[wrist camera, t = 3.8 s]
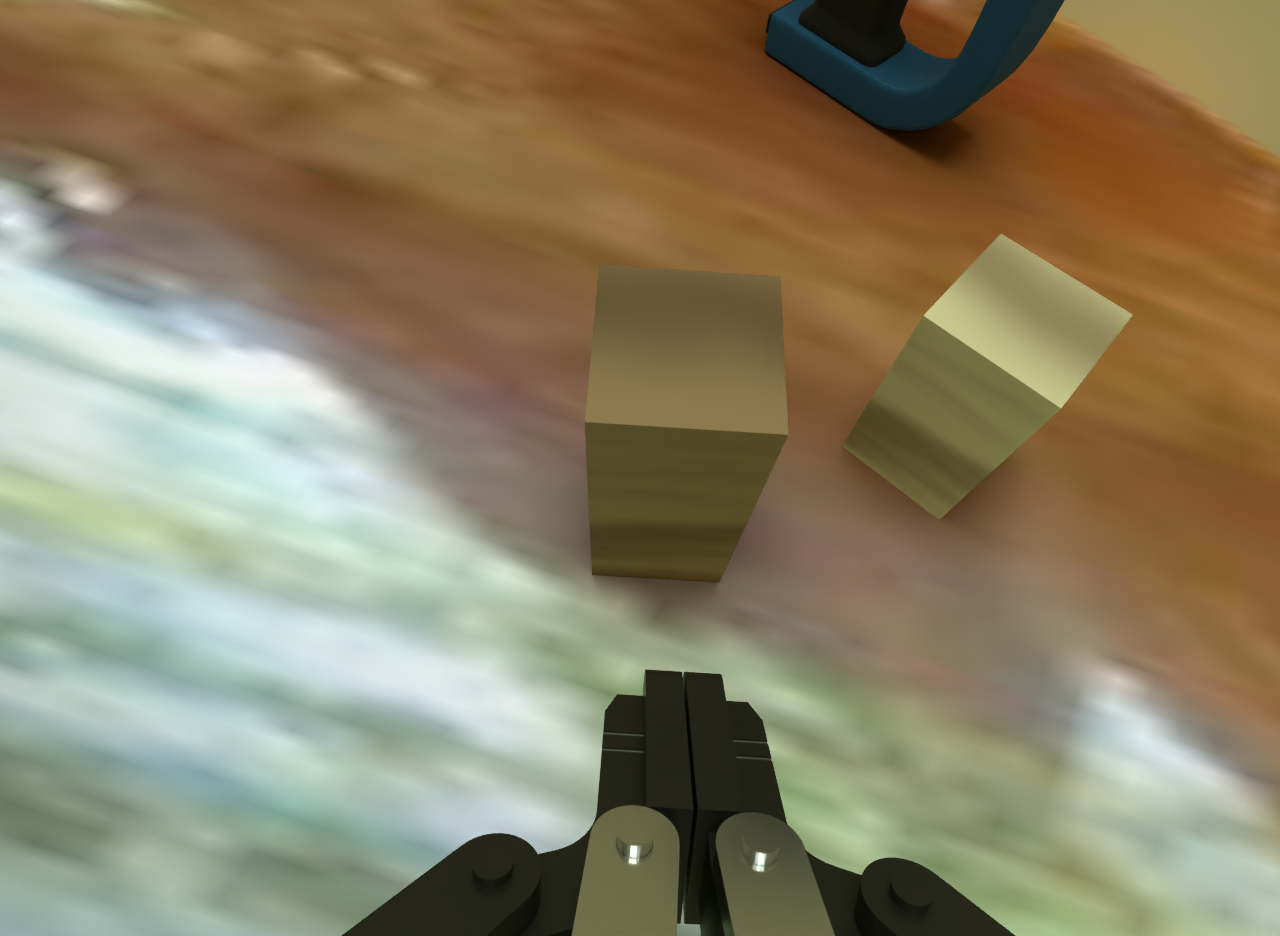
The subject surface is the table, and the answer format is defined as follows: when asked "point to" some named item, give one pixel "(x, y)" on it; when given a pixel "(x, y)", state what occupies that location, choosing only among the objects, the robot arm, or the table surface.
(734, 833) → the robot arm
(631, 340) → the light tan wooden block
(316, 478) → the table surface
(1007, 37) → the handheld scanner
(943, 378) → the beech block
